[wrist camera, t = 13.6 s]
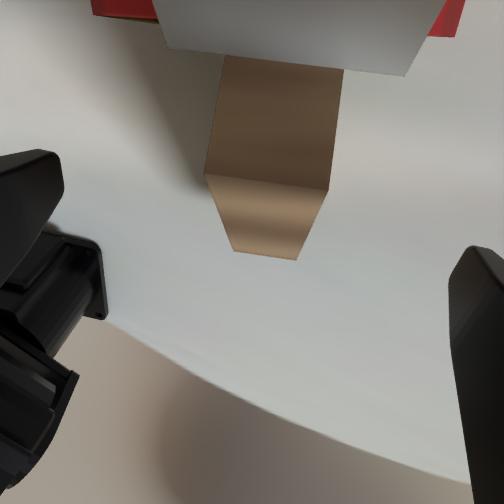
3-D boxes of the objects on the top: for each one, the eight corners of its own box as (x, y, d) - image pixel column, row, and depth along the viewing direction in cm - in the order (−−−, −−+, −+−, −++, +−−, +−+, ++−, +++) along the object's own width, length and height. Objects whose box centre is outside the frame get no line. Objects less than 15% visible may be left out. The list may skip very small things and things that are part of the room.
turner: (337, 184, 20) (327, 265, 20) (216, 168, 21) (202, 246, 20) (591, -314, 5) (587, 0, 4) (66, -349, 5) (-25, -66, 4)
